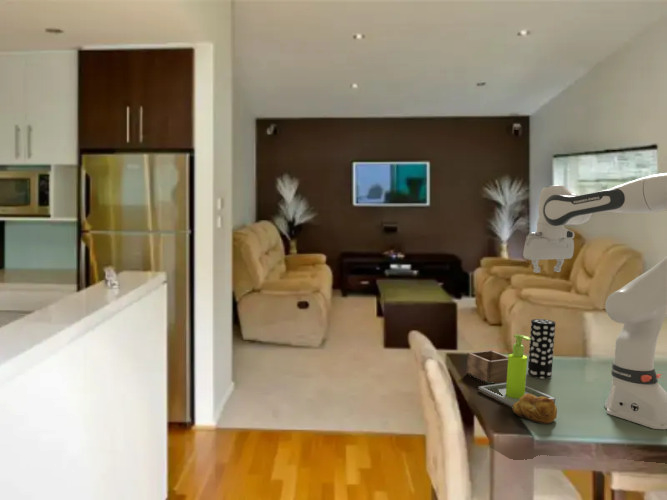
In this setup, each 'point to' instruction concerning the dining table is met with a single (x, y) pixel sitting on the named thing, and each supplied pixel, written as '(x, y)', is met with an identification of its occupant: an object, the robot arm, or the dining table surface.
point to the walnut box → (488, 366)
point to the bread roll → (536, 408)
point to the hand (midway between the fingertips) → (547, 272)
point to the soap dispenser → (517, 369)
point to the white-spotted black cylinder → (541, 348)
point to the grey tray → (510, 400)
